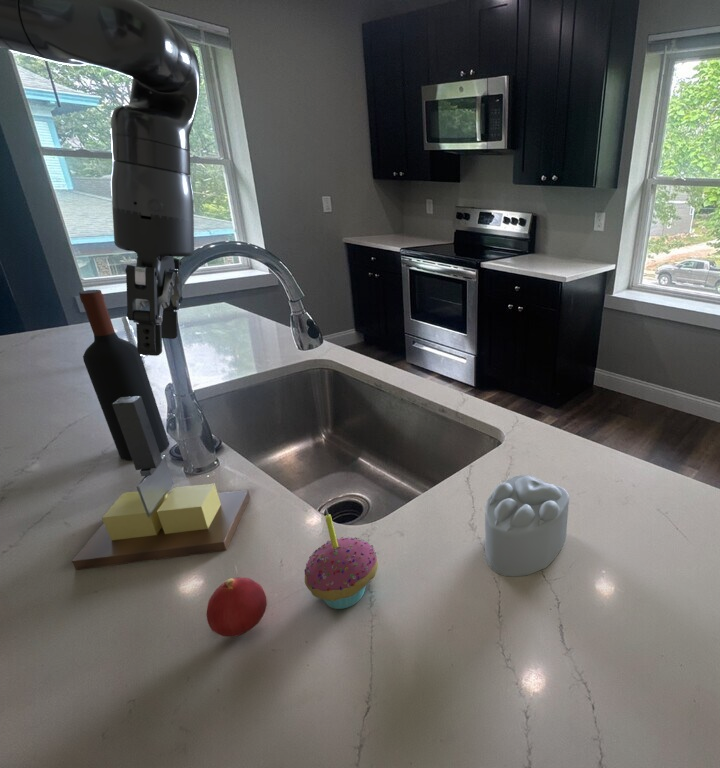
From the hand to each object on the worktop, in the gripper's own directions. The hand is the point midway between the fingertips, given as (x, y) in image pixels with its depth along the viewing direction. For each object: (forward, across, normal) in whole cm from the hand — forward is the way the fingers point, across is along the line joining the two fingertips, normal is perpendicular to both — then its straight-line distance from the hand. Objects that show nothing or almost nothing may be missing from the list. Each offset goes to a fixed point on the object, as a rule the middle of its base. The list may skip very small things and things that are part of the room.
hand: (159, 345), depth 58 cm
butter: (+27, -3, 0) cm, 27 cm away
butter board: (+29, -3, 0) cm, 29 cm away
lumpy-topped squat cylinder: (+22, +19, +46) cm, 55 cm away
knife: (+23, -2, -1) cm, 23 cm away
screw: (+27, -82, -22) cm, 89 cm away
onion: (+28, +20, +11) cm, 36 cm away
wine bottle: (+28, -30, -9) cm, 42 cm away
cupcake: (+26, +19, +22) cm, 39 cm away
